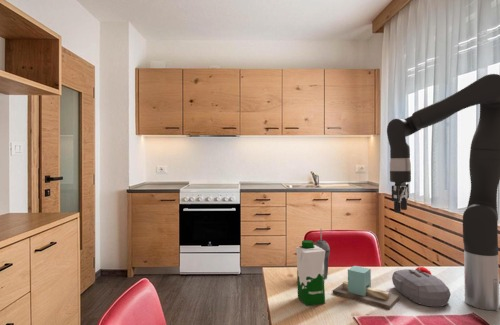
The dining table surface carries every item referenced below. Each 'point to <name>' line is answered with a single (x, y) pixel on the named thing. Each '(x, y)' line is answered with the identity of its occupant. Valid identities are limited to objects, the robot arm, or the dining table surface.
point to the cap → (424, 270)
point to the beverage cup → (325, 247)
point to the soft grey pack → (421, 287)
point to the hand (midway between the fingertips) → (400, 211)
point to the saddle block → (359, 280)
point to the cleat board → (369, 296)
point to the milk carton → (310, 273)
